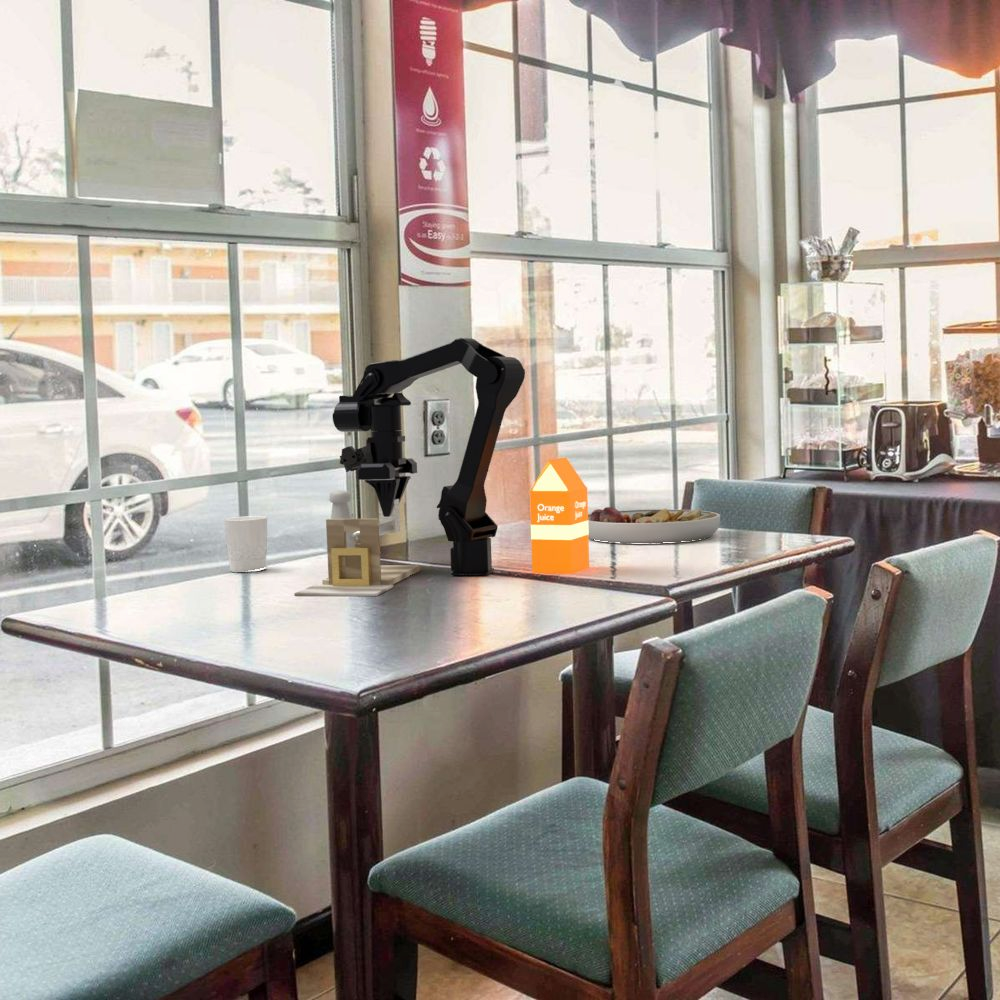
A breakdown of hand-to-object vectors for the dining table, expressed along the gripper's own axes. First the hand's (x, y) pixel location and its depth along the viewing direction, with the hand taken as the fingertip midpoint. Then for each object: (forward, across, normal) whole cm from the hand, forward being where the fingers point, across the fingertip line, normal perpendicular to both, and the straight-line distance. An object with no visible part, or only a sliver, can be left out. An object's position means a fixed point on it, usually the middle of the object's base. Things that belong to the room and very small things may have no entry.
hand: (389, 515), depth 238 cm
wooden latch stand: (+10, +16, 0) cm, 19 cm away
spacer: (+10, +22, 0) cm, 24 cm away
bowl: (+10, -49, +43) cm, 66 cm away
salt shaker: (+10, -24, -18) cm, 32 cm away
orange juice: (+10, +1, +32) cm, 34 cm away
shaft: (+3, +9, 0) cm, 10 cm away
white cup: (+10, +1, -28) cm, 30 cm away
